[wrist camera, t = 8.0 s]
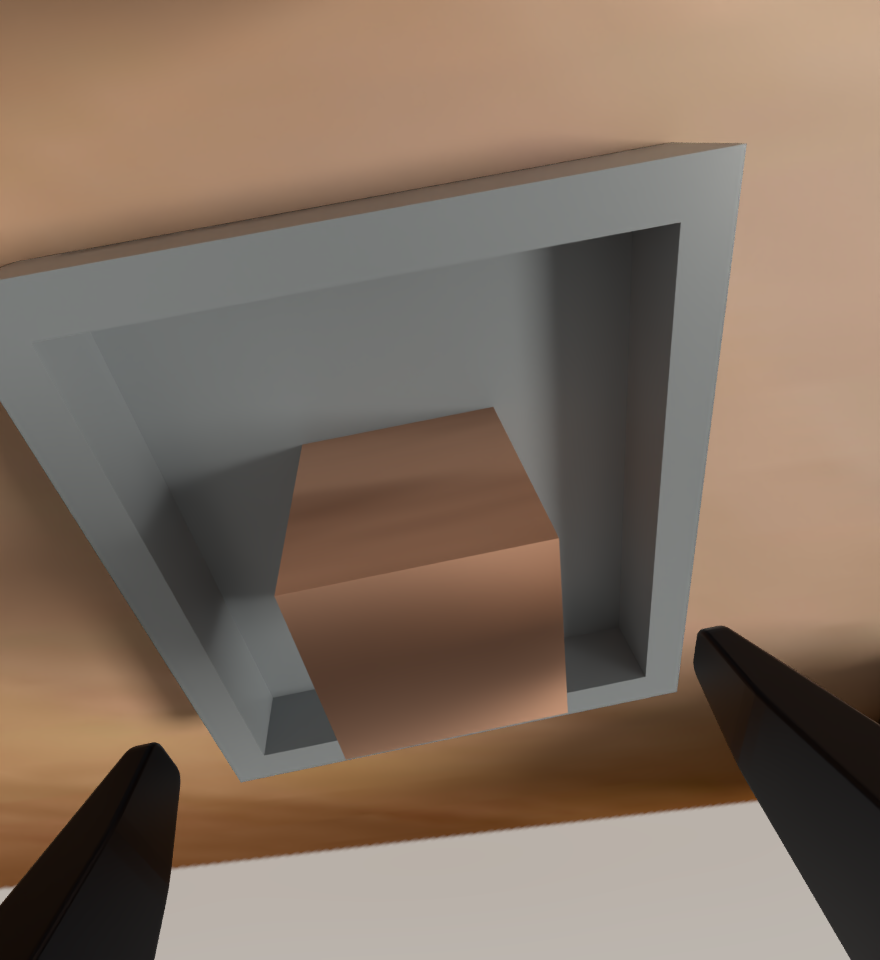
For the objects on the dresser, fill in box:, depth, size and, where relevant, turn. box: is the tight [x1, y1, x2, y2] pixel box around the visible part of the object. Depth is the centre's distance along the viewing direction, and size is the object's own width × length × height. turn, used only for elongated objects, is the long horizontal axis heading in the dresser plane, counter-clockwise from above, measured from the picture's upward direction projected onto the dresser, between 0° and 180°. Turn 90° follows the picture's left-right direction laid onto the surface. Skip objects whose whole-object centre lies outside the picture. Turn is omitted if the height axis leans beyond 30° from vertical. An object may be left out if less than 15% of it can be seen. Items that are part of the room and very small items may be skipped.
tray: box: [0, 142, 746, 782], centre depth 14 cm, size 14×13×2 cm
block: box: [274, 407, 568, 760], centre depth 12 cm, size 4×4×5 cm
